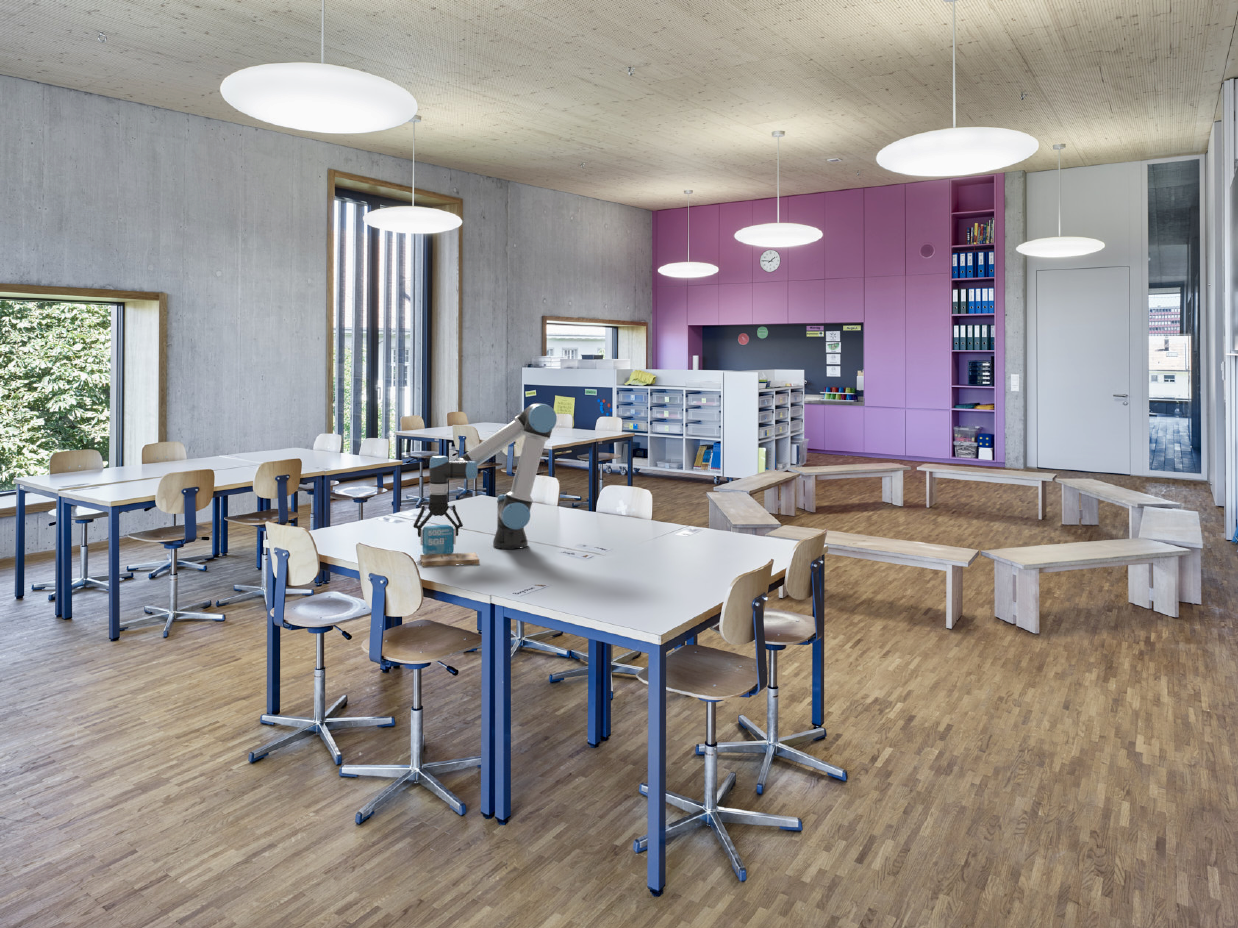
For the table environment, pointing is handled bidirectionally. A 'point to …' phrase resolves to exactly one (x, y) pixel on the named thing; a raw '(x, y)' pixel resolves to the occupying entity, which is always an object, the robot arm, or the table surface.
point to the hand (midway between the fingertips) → (438, 544)
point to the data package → (438, 539)
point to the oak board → (449, 559)
